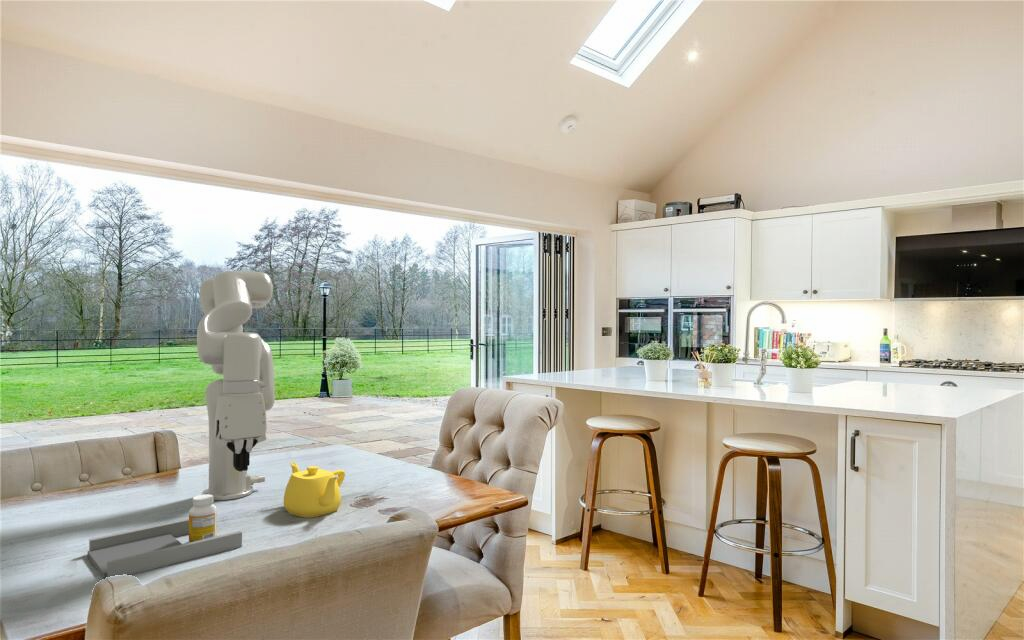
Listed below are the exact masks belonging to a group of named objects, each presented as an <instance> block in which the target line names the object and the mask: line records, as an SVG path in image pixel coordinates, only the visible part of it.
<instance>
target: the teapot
mask: <svg viewBox="0 0 1024 640" xmlns="http://www.w3.org/2000/svg"><path fill="white" fill-rule="evenodd" d="M289 464H290V466H291V469H292V471H291V472H292V474H291V475H290V477H289V479H288V482H287V484H286V487H285V490H284V495H283V506H284V508H285V510H286V511H287V513H289V514H290V515H292V516H296V517H298V518H299V517H300V518H316V517H319V516H324V515H328V514H331V513H333V512H337V510H339V508H340V506H341V505H342V503H341V502H342V496H341V489H340V487H341V485H342V484H343V482H344V480H345V477H346V471H345V470H343V469H335V470H333V471H329V470H325V469H323V468H319V466H316V465H311V466H307V467H306V470H301V471H300V469H299V466H298V464H297V463H296V462H290V463H289ZM336 475H337V476H336Z"/></svg>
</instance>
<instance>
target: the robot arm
mask: <svg viewBox="0 0 1024 640" xmlns="http://www.w3.org/2000/svg"><path fill="white" fill-rule="evenodd" d="M273 292H274V286H273V281H272V279H271V277H270V276H269V274H267V273H265V272H262V271H249V270H248V271H247V270H227V271H222V272H220V273H218V274H217V275H216V277H214V278H213V277H211V278H208V279H206V280H203V281H202V282H201V284H200V285H199V300H200V306H201V309H202V311H203V314H204V315H203V317H202V318H201V319H200V321H199V323H198V326H197V331H196V348H197V356H198V359H199V360H200V361H201V362H202V364H205V365H209V366H211V368H212V371H213V372H214V373H215V374H217V375H220V376H222V378H220V379H216V380H213V381H211V382H210V383H209V384H208V385H207V386H206V388H205V404H206V409H207V418H208V488H205V489H204V490H203V491H202V493H201V495H206V494H209V495H213V500H214V501H228V500H235V499H239V498H243V497H246V496H249V495H251V494H252V493H253V491H254V487H253V485H254V484H259V483H261V484H262V483H265V480H266V478H265V477H266V476H265V475H264V474H262V475H261V474H260V475H256V474H255V475H249V474H248V470H249V466H250V464H251V463H250V453H251V452H252V451H253V448H254V447H255V446H256V445H257V444H259V443H262V442H265V441H266V440H267V436H266V433H267V426H268V425H267V412H266V411H269V410H271V409H272V408H273V407H274V405H275V400H276V387H275V372H274V357H273V352H272V348H271V346H270V345H269V344H268V343H267V342H266V341H264V339H263V338H262V337H261V336H260V334H258V333H256V332H249V331H248V332H244V326H243V325H244V324H245V323H247V322H248V321H249V320H250V319H251V317H252V314H253V309H263V308H264V307H266V306H267V305H268V304H269V303H270V302H271V299H272V297H273V294H274V293H273Z"/></svg>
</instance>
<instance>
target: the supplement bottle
mask: <svg viewBox="0 0 1024 640" xmlns="http://www.w3.org/2000/svg"><path fill="white" fill-rule="evenodd" d="M214 501H215V500H213V495H209V494H206V495H202V494H199V495H195V496H194V497H192V507H191V508H190V509H189V510H188V519H189V534H188V543H190V542H194V541H199V540H203V539H207V538H212V537H216V536H218V531H217V530H218V529H217V528H218V527H217V526H218V524H217V523H218V522H217V521H218V519H217V518H218V517H217V516H218V513H217V512H218V510H217V506H216V505H215V504H213V503H214Z"/></svg>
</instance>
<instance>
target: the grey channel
mask: <svg viewBox="0 0 1024 640" xmlns="http://www.w3.org/2000/svg"><path fill="white" fill-rule="evenodd" d="M184 535H189V518H186V519H181V520H176V521H171V522H166V523H162V524H158V525H152V526H147V527H142V528H141V527H140V528H138V529H132V530H127V531H122V532H118V533H113V534H109V535H104V536H98V537H94V538H89V541H88V544H89V546H88V547H89V548H88V551H87V557H88V559H89V560H90V562H91V563H92V564H93V566H94V567H95V569H96V570H97V571H98V572H99V574H100V575H101V577H102V578H103V579H104V578H105V579H107V578H106V577H110V576H115V575H123V574H129V575H130V576H131V575H133V574H138V573H143V572H146V571H150V570H153V569H158V568H161V567H165V566H169V565H174V564H177V563H181V562H185V561H189V560H194V559H197V558H201V557H205V556H210V555H213V554H217V553H221V552H225V551H229V550H233V549H236V548H242V547H243V532H242V531H241V530H239V531H234V532H229V533H225V534H221V535H217V536H216V537H212V538H207V539H203V540H199V541H194V542H190V543H189V542H186V543H182V542H181V541H179V540H178V538H176V537H179V536H184ZM129 575H128V576H129Z"/></svg>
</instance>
